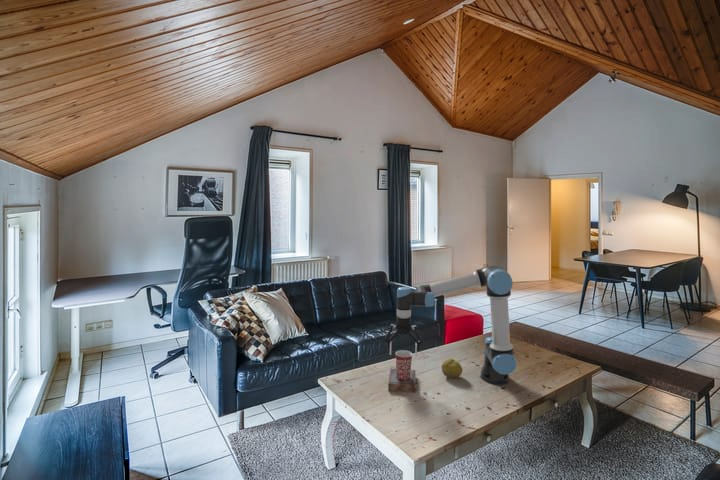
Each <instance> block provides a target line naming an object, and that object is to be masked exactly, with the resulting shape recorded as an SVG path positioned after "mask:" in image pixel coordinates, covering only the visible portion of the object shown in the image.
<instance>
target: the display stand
mask: <svg viewBox="0 0 720 480" xmlns="http://www.w3.org/2000/svg"><path fill="white" fill-rule="evenodd" d="M387 385H388V386H387V387H388V388H387V389H388V391H387V392H399V393H400V392H401V393H410V394H411V393H414V394H416V369H411V372H410V379H409V380H405V381H404V380H399V379H397V377H396V368H390V369H389V378H388V383H387Z"/></svg>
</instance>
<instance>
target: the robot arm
mask: <svg viewBox="0 0 720 480" xmlns="http://www.w3.org/2000/svg"><path fill="white" fill-rule="evenodd" d="M513 285H514V283H513V278H512V277H511V275H510V274H509V272H507V270H505V269H503V268H502V267H499V266H497V265H490V266H485V267H482V268H478V269H475V270H474V271H473V272H470V273H468V274H463V275H460V276H456V277H453V278H449V279H448V278H447V279H445V280H440V281H437V282H433V283H429V284H425V285H424V284H419V285H418V286H417V287H415V290H414V291H412V288H411V287H408V286H400V287H398V288H397V290H396V324H393V323H391V324H390V329H389V330H388V332H387V334H386V335H385V337H384V342H386V343H387V349H389V356H392V341H393V340H394V339H395V338H396V336H398V335H399V334H400V335H401V334H402V335H407V334H408V335H409V336H410V338H411V339H412V340H413V341H414V342H415V350H414V351H415V353H414V355H415V357H417V356H418V355H417V353H418V351H419V350H420V344H423V342H424V341H423V338H422V336H421V335H420V333H419V330H418V329H417V327H418V326H417V325H416V324H414V325H412V317H411V316H412V307H426V308H428V307H429V308H430V307H434V305H435V298H436V297H440V296H444V295H448V294H452V293H456V292H459V291H460V292H461V291H464V290H467V289H471V288H472V289H473V288H476V287H479V288H482V287H486V296H487V297H488V298H489V302H490V319H491V320H490V321H491V336H487V337H486V338H485V341H484V362H483V365H482V368H481V370H480V375H479V376H480V378H481V379H482V380H483V381H485V382H487V383H490V384H494V385H504V384H507V383H509V381H510V375H509V374H511V373H513V372H514V371H515V370H516V368H517V359H516V357H515V353H514V351H515V350H514V345H513V344H512V343H511V338H510V337H511V336H510V316H509V315H510V314H509V300H508V299H509V298H510V296H511V295H512V294H511V293H512V292H511V291H512V288H513ZM394 329H395V332H394V333H393V334H391V333H392V331H393V330H394ZM411 330H413V331H414V333H415V335H414V333H413V332H412V331H411Z"/></svg>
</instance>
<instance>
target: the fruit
mask: <svg viewBox="0 0 720 480" xmlns="http://www.w3.org/2000/svg"><path fill="white" fill-rule="evenodd" d="M441 372H442V373H443V375H444V376H445V377H447V378H451V379H452V378H458V377H460V376H461V375H462V374H463V368H462V365H461V364H460V362H459V361H456V359H453V358H448V359H446V360H444V361H443V362H442V364H441Z"/></svg>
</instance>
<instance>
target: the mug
mask: <svg viewBox="0 0 720 480" xmlns="http://www.w3.org/2000/svg"><path fill="white" fill-rule="evenodd" d="M394 355H395V369H396V377H397V379H399V380H404V381H405V380H409V379H410V372H411V370H412V369H411V368H412V360H413V352H411V351H409V350H404V349H400V350H397V351H395V354H394Z"/></svg>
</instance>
